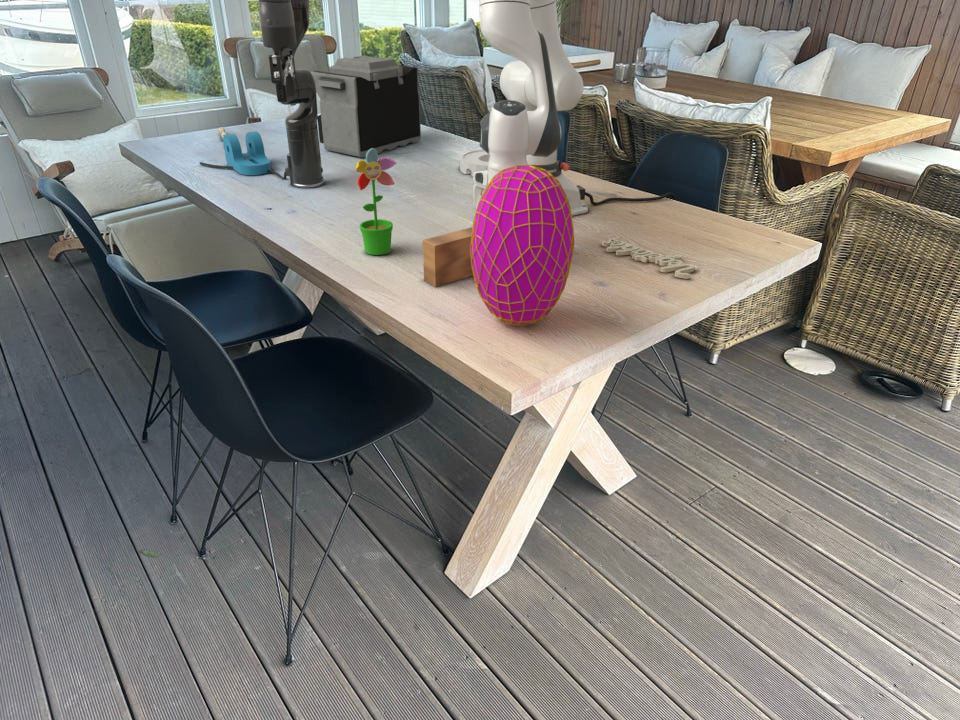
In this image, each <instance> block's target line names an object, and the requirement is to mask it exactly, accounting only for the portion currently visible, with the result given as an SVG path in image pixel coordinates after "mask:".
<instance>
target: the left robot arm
mask: <svg viewBox="0 0 960 720" xmlns="http://www.w3.org/2000/svg"><path fill="white" fill-rule="evenodd" d="M257 1H258V16H259V23H260V31H261V37H262V44H263V46H264V47H265V48H267V49H268V48H269V49H272V54H269V55H268V60H269V61H268V62H269V71H270V79H271V83H272V84H273V85H274V91H275V95H276V100H277V102H278V103H280V104H281V105H284V106H292V105H298V107H297V109H296V110H295V111H293V112H292V113H290V114H289V115H287V116H286V117H285V120H284V123H285V131H286V138H287V146H288V153H287V154H286V161H287V167H286V168H284V172H283V176H282V175H281V174H280V173H279V172H277V171H276V170H272V169H271V170H268V172H269V173H271V174H274V175H276V176H277V177H278V178H280V179H282V180H286V179H287V177H289V184H290V186H294V187H296V188H300V189H301V188H303V189H310V188H317V187H320V186H322V185H324V184H325V182H324V175H323V173H324V169H323V167H322V157H321V147H320V139H319V130H318V120H317V118H318V116H319V115H318V114H319V113H318V99H317V98H318V97H317V96H318V94H317V93H316V85H315V80H314V77H313V75H312V73H311V72H312V71H311V70H309V69H307V68H298V69H296V62H295V56H296V52H297V51H298V48H299V46H300V45H301V43H302V41H303V39H304V38H305V35H306V33H307V31H308V29H309V26H310V0H257ZM199 165H200V166H205V167H210V168H218V169H227V170H228V169H230V170H234V169H233V166H228V165H217V164H212V163H211V164H210V163H207V162H202V161H200V162H199Z"/></svg>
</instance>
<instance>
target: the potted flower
mask: <svg viewBox="0 0 960 720" xmlns="http://www.w3.org/2000/svg"><path fill="white" fill-rule="evenodd" d="M395 165H397V162H396V161H395V160H394V159H393V158H391V157H388V156H385V157H381V158H379V153H377V151H376V149H374V148H371V149H370V150H369V151H368V152H367V153H366V157H365V160H364V159H360V160H358V161H357V163H356V165H355V172H357V173H361V174H360V175H359V176H358V178H357V186H358V188H359V190H360V191H362V190H365V189H366V188H367V187H368V185H369V184H370V183H371V191H372V203H366V204H364V205H363V206H362V208H363V210H364V211H366V212H369V213H370V212H373V216H374V217H373V218H374V219H368V220H365V221H362V222H360V223H359V230H360V232H361V236H362V241H363V246H364V251H365V253H366V254H368V255H372V256H381V255H382V256H383V255H387V254H389V253H390V252H391V249H392V231H393V227H394V224H393V222H392V221H390V220H387V219H379V218H378V211H377V203H379V202H380V201H382V200H383V198H384V196H383V195H381V194H380V195H378V194H377V195H376V181H377V182H378V183H379V184H380V185H383V186H388V187H389V186H394V185H395V184H396V182H395V181H394V179H393V177H392V176H391V175H390V174H389V173H388V172H386V171H387V170H389V169H391V168H392V167H394V166H395Z"/></svg>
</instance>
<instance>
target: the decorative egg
mask: <svg viewBox="0 0 960 720" xmlns="http://www.w3.org/2000/svg"><path fill="white" fill-rule="evenodd" d="M573 221H574V220H573V216H572V213H571V207H570V204H569V201H568V198H567V195H566V193H565V191H564V189H563V188H562V186H561V184H560V182H559V181H558V180H557V179H556V178H555V177H554V176H553V175H552V174H551V173H550V172H549V171H547V170H545V169H542V168H539V167H536V166H532V165H516V166H513V167H509V168H506V169H503V170H501V171H500V172H499V173H497V174H496V175H495V176H494V177H493V178H492V179H491V181H490V183H489V184H488V186H487V187H486V189H485V191H484V192H483V194H482V196H481V198H480V201H479V204H478V207H477V209H476V210H475V212H474V217H473V222H472V227H473V228H472V236H471V244H470V256H471V267H472V272H473V276H472V277H473V280H474V284H475V287H476V290H477V292H478V294H479V298H480V299H481V300H482V302H483V303H484V305H485V307H486V308H487V310H488V312H489V313H490V314H491V315H492V316H494V317H495V318H496V319H498V320H500V321H501V322H503V323H505V324H508V325H512V326H528V325H532V324H535V323H538V322H539V321H542V319H544V318H546V317H547V316H548V315H549V314H550V313H551V311H552V310H553V309H554V307H555V306H556V304H557V303H558V301H559V300H560V298H561V297H562V294H563V292H564V290H565V288H566V286H567V282H568V278H569V274H570V271H571V265H572V261H573V256H574V250H575V242H576V241H575V229H574V222H573Z"/></svg>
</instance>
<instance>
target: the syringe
mask: <svg viewBox="0 0 960 720" xmlns="http://www.w3.org/2000/svg"><path fill="white" fill-rule="evenodd" d="M218 134H219V140H220V141H221V142H223V137H224V135H229V134H228V133H227V132H226V129H225V128H224V127H219V128H218Z"/></svg>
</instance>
